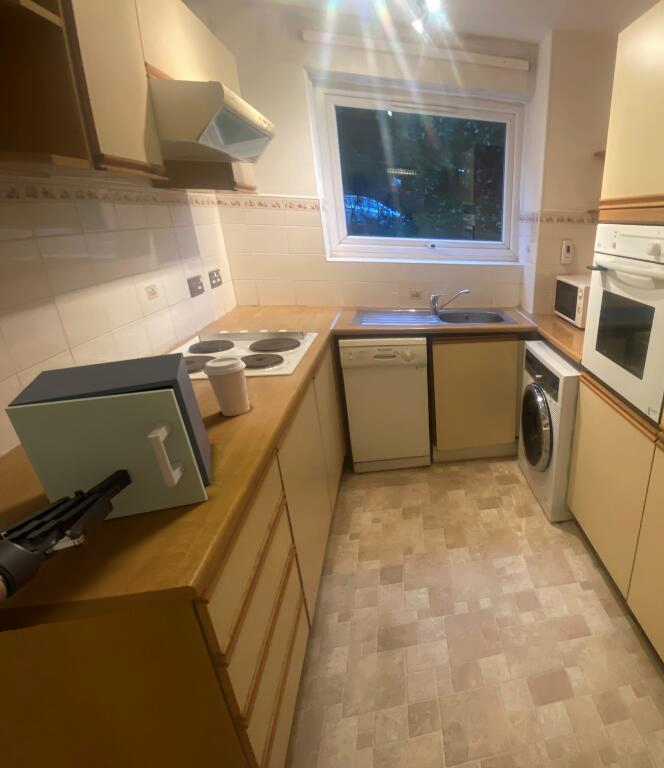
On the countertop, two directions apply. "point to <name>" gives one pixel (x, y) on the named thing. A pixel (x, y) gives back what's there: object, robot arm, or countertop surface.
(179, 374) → the cupboard
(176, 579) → the countertop surface
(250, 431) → the countertop surface
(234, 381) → the coffee cup
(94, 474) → the door
